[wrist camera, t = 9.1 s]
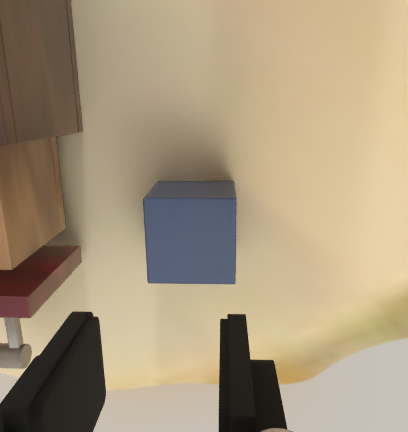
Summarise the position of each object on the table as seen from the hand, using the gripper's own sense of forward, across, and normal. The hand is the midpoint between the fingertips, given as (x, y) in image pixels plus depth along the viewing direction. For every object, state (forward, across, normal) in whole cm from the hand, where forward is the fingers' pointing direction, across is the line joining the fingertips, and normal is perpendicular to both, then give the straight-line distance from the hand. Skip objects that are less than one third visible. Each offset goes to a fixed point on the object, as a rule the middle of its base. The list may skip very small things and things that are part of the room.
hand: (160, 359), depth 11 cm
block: (+15, 0, 0) cm, 15 cm away
